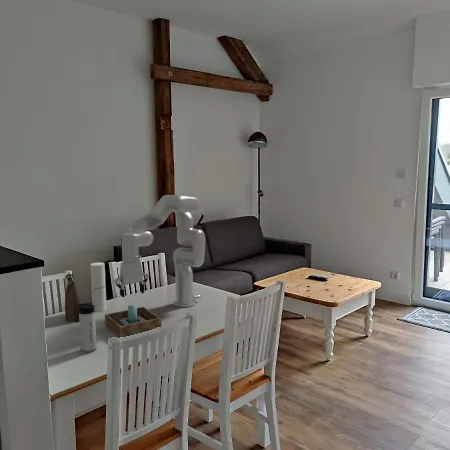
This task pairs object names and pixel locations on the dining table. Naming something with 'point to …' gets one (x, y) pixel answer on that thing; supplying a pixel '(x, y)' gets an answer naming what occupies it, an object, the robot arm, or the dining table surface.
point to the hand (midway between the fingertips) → (132, 294)
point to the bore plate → (126, 322)
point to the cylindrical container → (98, 286)
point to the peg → (132, 313)
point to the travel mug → (87, 327)
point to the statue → (71, 301)
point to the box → (131, 329)
